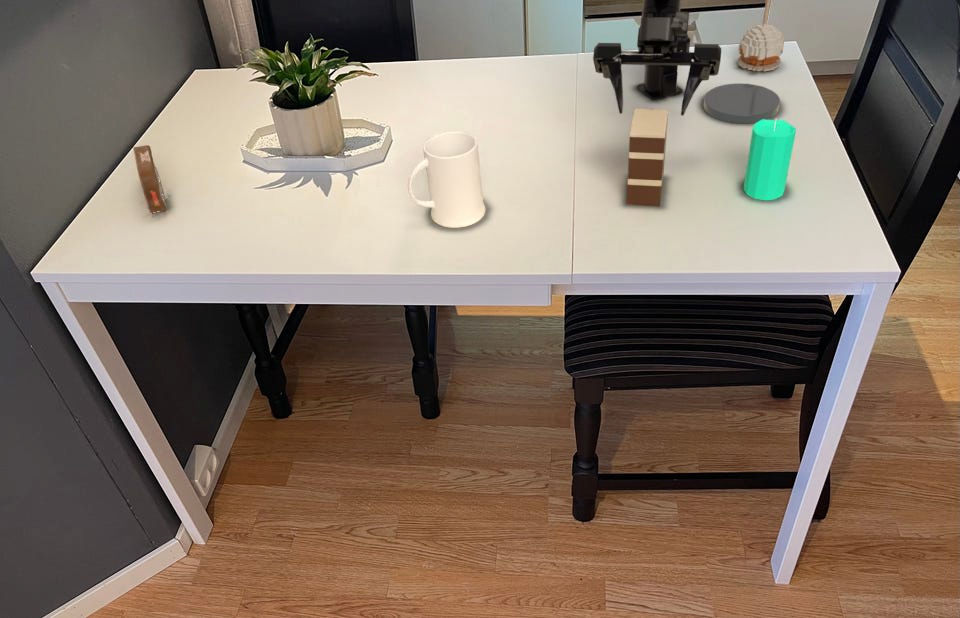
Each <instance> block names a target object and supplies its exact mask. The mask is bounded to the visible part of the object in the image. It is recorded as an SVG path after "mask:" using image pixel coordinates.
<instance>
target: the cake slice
mask: <svg viewBox="0 0 960 618" xmlns="http://www.w3.org/2000/svg"><path fill="white" fill-rule="evenodd" d="M668 120H669V109H657V108H656V109H653V108H652V109H650V108H634V111H633V115H632V120H631V127H630V131H629V140H628V141H629V142H628V163H627V164H628V165H627V187H626V189H627V190H626V205H630V206H631V205H632V206H649V207H650V206H651V207H660V206H661V201H662V200H661V199H662V193H663V185H664V175H665V163H666V149H667V148H666V146H667V134H668Z"/></svg>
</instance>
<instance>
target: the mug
mask: <svg viewBox="0 0 960 618" xmlns="http://www.w3.org/2000/svg"><path fill="white" fill-rule="evenodd" d="M478 144H479V143H478V139H477V138H476V137H475V135H472V134H470V133H468V132H465V131H446V132H440V133H437V134H434V135H432V136H431V137H429V138H428V139H426V140H425V142H424V143H423V145H422V151H423V157H424V159H423V160H421V161H420V162H419V163H417V164H416V165H415V167H414V168H413V169H412V171H411V172H410V174H409V177H408V180H407V192H408V195H409V198H410V199H411V200H412V201H413V202H414V203H415V204H416V205H417V206H420V207H423V208H429V209H430V208H431V211H430V217H431V219H432V220H433V222H434V223H436V224H437V225H439V226H441V227H445V228H450V229H452V228H453V229H456V228H457V229H459V228H464V227H468V226H472V225H474V224H476V223H478V222H479V221H481V219H483V218H484V216H485V215H486V211H487V210H486V205H485V203H484V196H483V195H484V194H483V185H482V175H481V166H480V155H479V153H480V152H479V145H478ZM422 169H425V171H426V177H427V185H428V192H429V198H430V199H429V200H420V199H417V198H416V196H415V195H414V194H413V190H412V187H413V182H414V179H415V177H416V176H417V174H418V173H419V172H420V171H422Z"/></svg>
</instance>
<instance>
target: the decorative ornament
mask: <svg viewBox="0 0 960 618" xmlns="http://www.w3.org/2000/svg"><path fill="white" fill-rule="evenodd" d="M770 5H771V0H765V5H764V12H763V18H762V23H761V24H756V25H752V27H750V29H747V30H746V32H744V33H743V38H742V39H740V41H739V43H738V51H739V53H738V54H739V55H740V56H739V57H738V59H737V65H738V66H739V67H740V68H742V69H747V70H748V71H753V72H754V71H756V72H761V71H763V72H767V71H773V70H776V68H779V66H780V65H781V64H782V61H781V58H780V57H781V55H782V54H783V52H784V46H785V39H784V38H783V33H782V32H781V31H780V30H779V29H778V28H777V27H776V26H774V25H772V24H769V23H768V19H769V13H770Z"/></svg>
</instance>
